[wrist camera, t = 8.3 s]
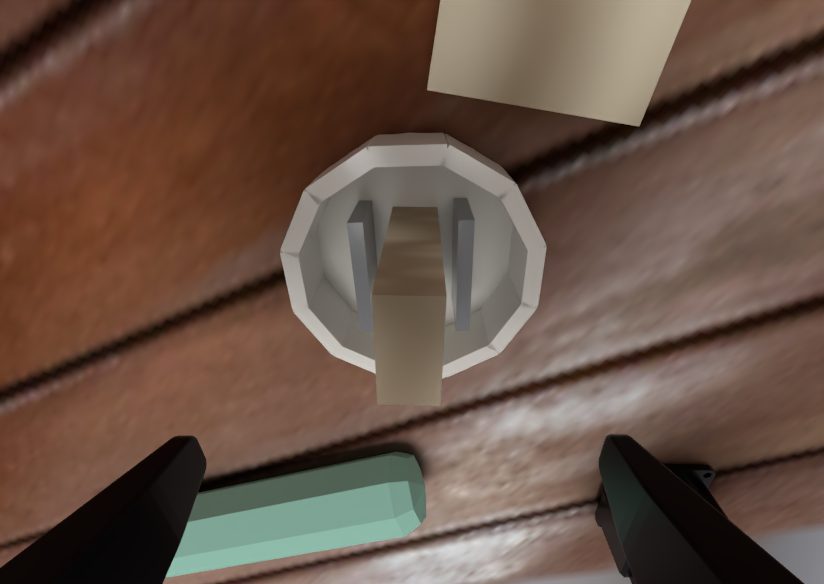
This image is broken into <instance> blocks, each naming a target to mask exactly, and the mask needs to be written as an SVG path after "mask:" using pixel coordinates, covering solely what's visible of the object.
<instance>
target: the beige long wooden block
mask: <svg viewBox="0 0 824 584" xmlns="http://www.w3.org/2000/svg"><path fill="white" fill-rule="evenodd" d="M446 299H447V295H446V285H445V275H444V265H443V256H442V246H441V236H440V226H439V217H438V207H395V206H393V208H392V212H391V216H390V220H389V224H388V229H387V233H386V237H385V241H384V245H383V249H382V253H381V258H380V262H379V266H378V270H377V274H376V278H375V283H374V287H373V291H372V314H373V333H374V351H375V370H376V388H377V405H419V406H441V388H442V370H443V353H444V335H445V317H446Z"/></svg>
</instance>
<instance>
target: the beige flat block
mask: <svg viewBox="0 0 824 584" xmlns="http://www.w3.org/2000/svg"><path fill="white" fill-rule="evenodd" d="M690 2H691V0H440V5H439V11H438V18H437V25H436V31H435V38H434V45H433V51H432V58H431V65H430V71H429V78H428V85H427V90H429V91H435V92H441V93H447V94H453V95H459V96H464V97H470V98H476V99H482V100H488V101H493V102H499V103H505V104H511V105H517V106H523V107H528V108H534V109H540V110H546V111H552V112H558V113H563V114H569V115H575V116H581V117H587V118H593V119H598V120H604V121H610V122H616V123H622V124H627V125H633V126H640V124H641V121H642V119H643V116H644V114H645V111H646V109H647V107H648V104H649V102H650V99H651V97H652V94H653V92H654V90H655V87H656V85H657V82H658V80H659V77H660V75H661V73H662V70H663V68H664V65H665V63H666V60H667V58H668V55H669V53H670V51H671V48H672V46H673V43H674V41H675V38H676V36H677V34H678V31H679V29H680V26H681V24H682V21H683V19H684V17H685V14H686V12H687V9H688V7H689V4H690Z"/></svg>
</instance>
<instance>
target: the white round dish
mask: <svg viewBox="0 0 824 584" xmlns="http://www.w3.org/2000/svg"><path fill="white" fill-rule="evenodd" d="M393 206H395V207H438V217H439V226H440V236H441V246H442V256H443V265H444V275H445V285H446V295H447V299H446V317H445V335H444V353H443V370H442V378H445V376H446V377H449V376H451V375H454V374H456V373H458V372H460V371H463V370H465V369H467V368H469V367H472V366H474V365H476V364H478V363H481V362H483V361H485V360H487V359H490V358H492V357H494V356H496V355H499V353H501V352H502V351H503V349H504V348H505V347H506V346H507V345H508V343H509V342H510V341H511V340H512V339H513V337H514V336H515V335H516V334H517V332H518V331H519V330H520V329H521V328H522V326H523V325H524V324H525V323H526V322H527V320H528V319H529V318H530V317H531V315H532V314H533V313H534V312H535V311H536V309H537V307H538V303H539V296H540V289H541V283H542V276H543V269H544V262H545V255H546V249H547V247H546V243H545V241H544V239H543V237H542V235H541V233H540V231H539V229H538V227H537V225H536V223H535V221H534V219H533V217H532V214H531V212H530V210H529V208H528V206H527V204H526V202H525V200H524V198H523V196H522V194H521V192H520V190H519V188H518V186H517V184H516V183H515V182H514V181H513V179H512V178H511V177H510V176H509V175H508V174H507V172H506V171H505V170H504V169H503V168H502V167H501V166H500V165H499V164H497V163H495V162H494V161H492V160H490V159H489V158H487V157H485V156H483V155H482V154H480V153H479V152H477V151H476V150H474V149H473V148H471V147H469V146H467V145H465V144H463V143H461V142H460V141H458V140H456V139H455V138H453V137H451V136H449V135H448V134H446V133H445V135H444V133H412V132H410V133H401V134H386V135H377V136H376V135H375V136H374V137H372V138H371V139H370V140H368V141H367V142H365V143H364V144H362V145H361V146H359V147H358V148H356V149H355V150H353V151H351V152H350V153H349V154H347V155H346V156H345V157H343V158H342V159H340V160H339V161H337V162H336V163H335V164H333V165H332V166H330V167H329V168H327V169H326V170H324V171H323V172H322V173H321V174H320V175H319V176H318V177H317V178H316V179H315V180H314V181H313V182H312V183H310V184H309V185H308V186H307V187H306V188H305V190H304V191H303V193H302V196H301V198H300V201H299V204H298V206H297V209H296V211H295V214H294V216H293V219H292V221H291V224H290V226H289V229H288V232H287V234H286V237H285V239H284V242H283V244H282V247H281V249H280V251H281V252H280V255H281V260H282V264H283V269H284V274H285V278H286V283H287V287H288V292H289V296H290V301H291V306H292V310H293V311H294V313H295V314H296V316H297V317H298V318H299V319H300V320H301V321H302V322H303V323H304V324H305V326H306V327H307V328H308V329H309V330H310V331H311V332H312V333H313V334H314V336H315V337H316V338H317V339H318V340H319V341H320V342H321V343H322V344H323V346H324V347H325V348H326V349H327V350H328V351H329V352H330V353H331V354H332V355H333V354H334V355H333V356H335V357H337V358H340V359H342V360H344V361H347V362H349V363H351V364H354V365H356V366H359V367H361V368H363V369H366V370H368V371H371V372H373V373H375V374H376V370H375V351H374V333H373V314H372V291H373V287H374V283H375V278H376V274H377V270H378V266H379V262H380V258H381V253H382V249H383V245H384V241H385V237H386V233H387V229H388V224H389V220H390V216H391V212H392V208H393ZM498 352H499V353H498Z"/></svg>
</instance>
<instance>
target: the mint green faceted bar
mask: <svg viewBox="0 0 824 584" xmlns="http://www.w3.org/2000/svg"><path fill="white" fill-rule="evenodd" d="M425 517H426V494H425V484H424V480H423V476H422V473H421V469H420V467H419V465H418V463H417V461H416V459H415V457H414V455H411V454H408V453H402V452H392V453H387V454H382V455H377V456H373V457H368V458H363V459H358V460H353V461H348V462H344V463H339V464H334V465H329V466H324V467H319V468H315V469H310V470H305V471H300V472H295V473H290V474H286V475H281V476H276V477H271V478H266V479H261V480H257V481H252V482H247V483H242V484H237V485H232V486H228V487H223V488H218V489H213V490H209V491H204V492H199V493H198V494H197V497H196V500H195V503H194V506H193V509H192V511H191V514H190V517H189V520H188V523H187V526H186V529H185V532H184V535H183V537H182V540H181V543H180V545H179V547H178V550H177V552H176V554H175V557H174V559H173V561H172V563H171V566H170V568H169V570H168V572H167V575H166V577H172V576H178V575H184V574H190V573H196V572H201V571H207V570H213V569H219V568H225V567H230V566H236V565H242V564H248V563H254V562H259V561H265V560H271V559H277V558H283V557H289V556H294V555H300V554H306V553H312V552H318V551H323V550H329V549H335V548H341V547H347V546H352V545H358V544H364V543H370V542H376V541H382V540H387V539H393V538H399V537H405V536H406V535H407V534H409V533H410V532H411V531H413V530H414V529H415V528H417V527H418V526H419V525H421V524H422V522H423V520H424V519H425ZM166 577H165V578H166Z"/></svg>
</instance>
